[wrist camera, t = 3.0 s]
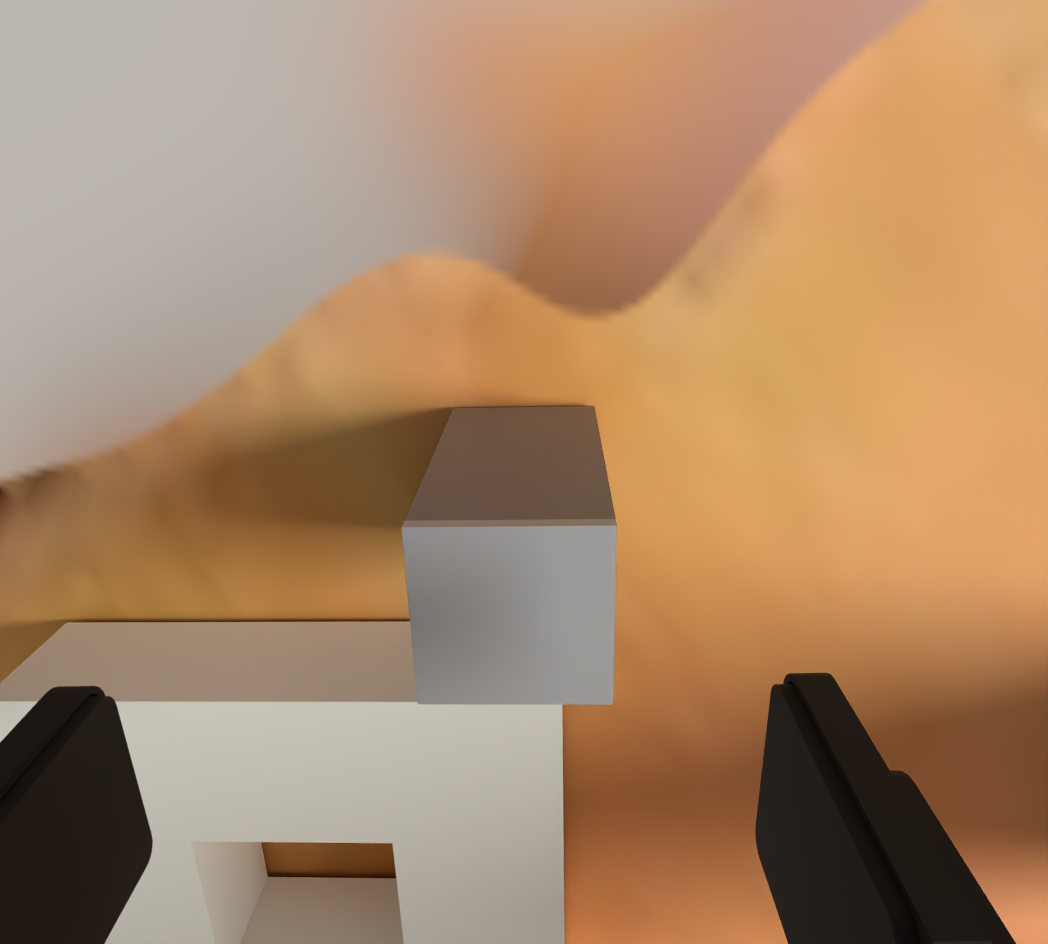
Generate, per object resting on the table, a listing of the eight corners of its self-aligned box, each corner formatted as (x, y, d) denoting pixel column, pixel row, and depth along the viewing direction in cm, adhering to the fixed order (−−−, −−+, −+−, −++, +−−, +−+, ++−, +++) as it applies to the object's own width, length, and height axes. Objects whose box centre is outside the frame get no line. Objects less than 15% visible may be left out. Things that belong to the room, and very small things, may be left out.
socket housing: (560, 620, 24) (562, 702, 20) (563, 975, 30) (565, 1089, 26) (66, 622, 25) (-21, 701, 21) (162, 968, 30) (108, 1079, 27)
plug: (594, 405, 22) (616, 525, 14) (593, 533, 23) (613, 704, 15) (453, 408, 22) (401, 527, 14) (461, 535, 23) (417, 704, 16)
